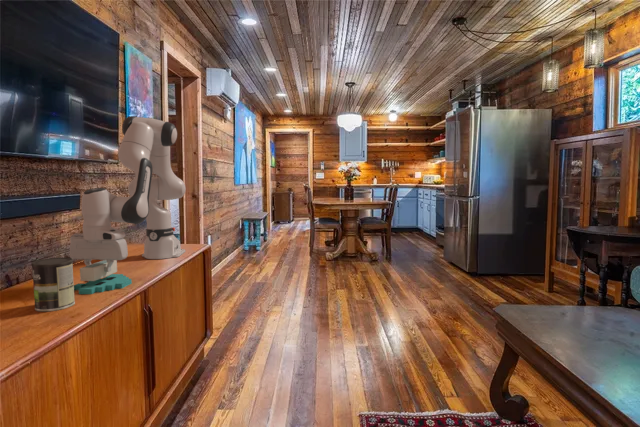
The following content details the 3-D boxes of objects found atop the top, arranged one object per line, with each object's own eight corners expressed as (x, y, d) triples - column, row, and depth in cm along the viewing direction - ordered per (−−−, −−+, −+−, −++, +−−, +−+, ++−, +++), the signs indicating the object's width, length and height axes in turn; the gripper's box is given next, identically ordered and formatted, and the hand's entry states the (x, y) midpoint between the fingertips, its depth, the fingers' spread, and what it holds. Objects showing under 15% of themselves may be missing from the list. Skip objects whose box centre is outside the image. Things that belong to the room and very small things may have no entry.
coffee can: (38, 314, 110) (34, 266, 109) (32, 306, 117) (28, 260, 116) (79, 306, 117) (76, 260, 116) (71, 298, 125) (68, 255, 123)
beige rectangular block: (94, 281, 132) (93, 267, 132) (80, 280, 133) (79, 267, 132) (117, 271, 145) (116, 259, 145) (104, 271, 146) (104, 259, 145)
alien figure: (53, 295, 130) (111, 295, 129) (52, 288, 129) (111, 289, 129) (89, 279, 150) (140, 279, 149) (89, 273, 149) (140, 274, 149)
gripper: (63, 234, 135) (66, 273, 137) (118, 235, 133) (120, 274, 135) (76, 232, 142) (78, 268, 143) (129, 232, 140) (131, 269, 141)
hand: (99, 271), depth 139 cm, fingers closed on beige rectangular block, 5 cm apart
